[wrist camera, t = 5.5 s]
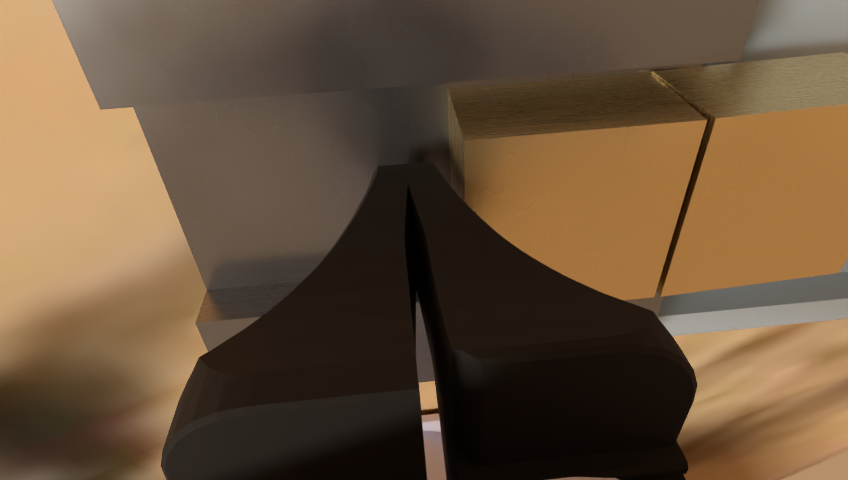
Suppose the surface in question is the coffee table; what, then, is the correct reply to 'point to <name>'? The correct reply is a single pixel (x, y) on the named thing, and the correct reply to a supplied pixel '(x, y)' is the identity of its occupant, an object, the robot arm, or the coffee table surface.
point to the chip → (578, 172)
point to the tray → (789, 299)
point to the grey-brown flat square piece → (341, 106)
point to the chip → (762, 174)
